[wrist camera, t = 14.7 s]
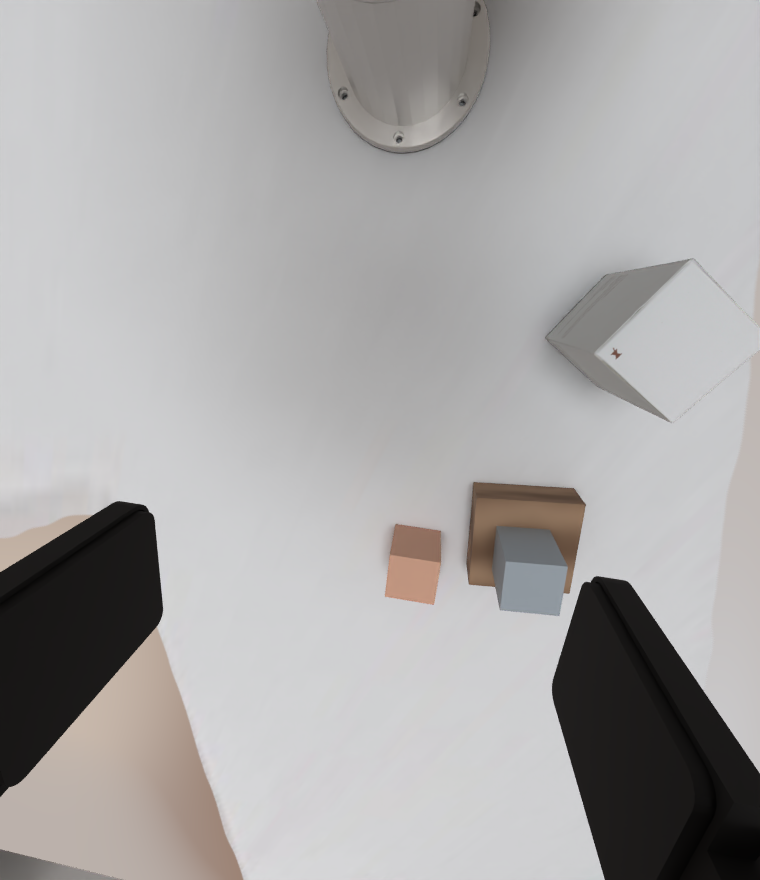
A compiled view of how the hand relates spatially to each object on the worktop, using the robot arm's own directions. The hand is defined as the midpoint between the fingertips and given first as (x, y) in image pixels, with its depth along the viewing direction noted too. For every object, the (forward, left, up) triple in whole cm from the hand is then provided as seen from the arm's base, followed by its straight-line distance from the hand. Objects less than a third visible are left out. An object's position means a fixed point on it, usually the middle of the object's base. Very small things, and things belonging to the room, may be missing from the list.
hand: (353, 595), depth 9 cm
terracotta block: (+20, +2, -33) cm, 39 cm away
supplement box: (-5, +16, -34) cm, 37 cm away
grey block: (+16, +12, -30) cm, 36 cm away
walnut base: (+16, +13, -34) cm, 39 cm away
